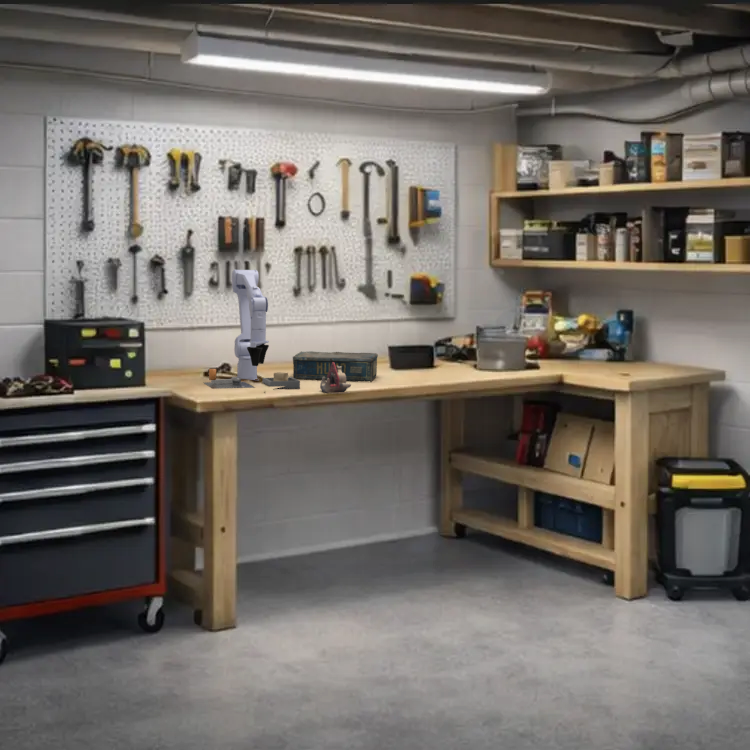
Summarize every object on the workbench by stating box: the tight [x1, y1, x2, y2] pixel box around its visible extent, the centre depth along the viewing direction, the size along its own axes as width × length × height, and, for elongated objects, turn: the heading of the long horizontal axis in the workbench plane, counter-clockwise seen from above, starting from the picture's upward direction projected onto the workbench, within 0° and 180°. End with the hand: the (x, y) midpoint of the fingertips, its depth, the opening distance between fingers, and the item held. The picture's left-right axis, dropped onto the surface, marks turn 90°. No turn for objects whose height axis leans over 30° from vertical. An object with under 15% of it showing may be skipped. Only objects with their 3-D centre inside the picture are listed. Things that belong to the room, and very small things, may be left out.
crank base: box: [202, 381, 256, 390], centre depth 442 cm, size 18×16×1 cm
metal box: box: [292, 350, 379, 382], centre depth 481 cm, size 21×32×10 cm, turn 83°
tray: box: [262, 376, 301, 390], centre depth 448 cm, size 12×12×3 cm
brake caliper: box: [319, 362, 352, 395], centre depth 439 cm, size 11×11×12 cm
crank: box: [208, 368, 242, 383], centre depth 447 cm, size 12×4×5 cm, turn 109°
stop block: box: [273, 371, 289, 381], centre depth 448 cm, size 4×4×5 cm
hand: (257, 364), depth 448 cm, fingers open, 7 cm apart
